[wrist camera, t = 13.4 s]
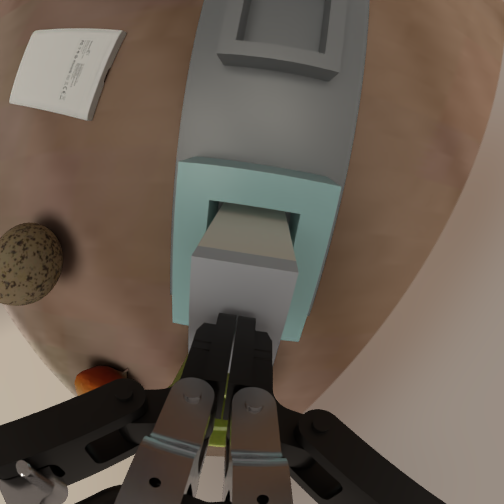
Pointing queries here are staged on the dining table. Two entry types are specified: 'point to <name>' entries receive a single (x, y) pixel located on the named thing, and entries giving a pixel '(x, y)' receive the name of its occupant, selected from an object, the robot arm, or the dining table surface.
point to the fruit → (96, 378)
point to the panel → (268, 128)
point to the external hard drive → (66, 70)
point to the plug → (244, 271)
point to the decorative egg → (28, 264)
